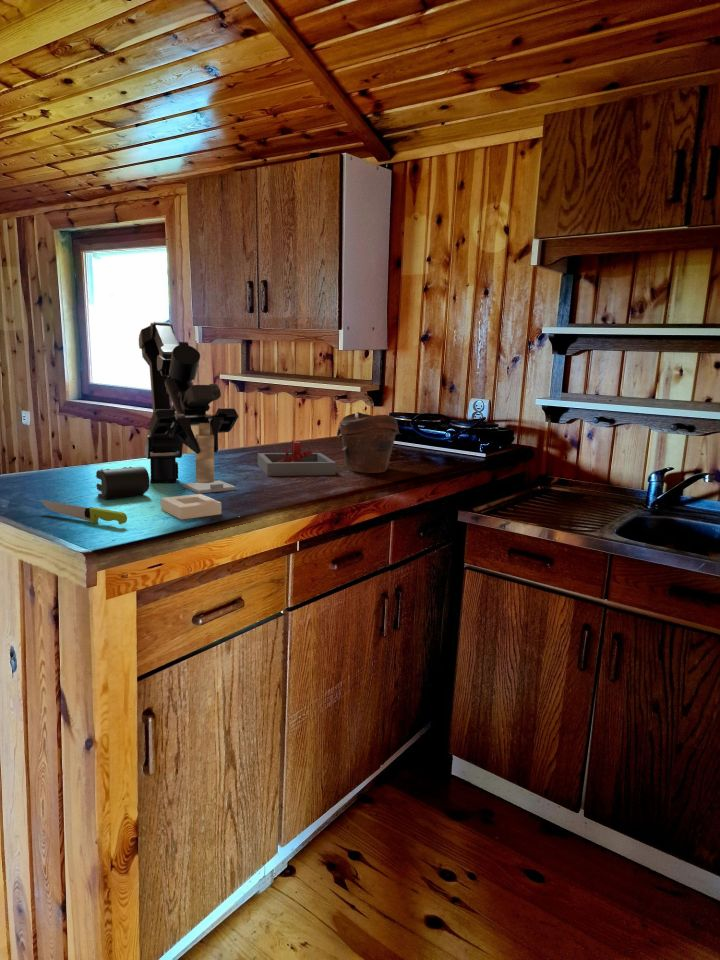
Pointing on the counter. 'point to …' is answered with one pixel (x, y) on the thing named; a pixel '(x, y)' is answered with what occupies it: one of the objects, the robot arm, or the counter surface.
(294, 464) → the gray square tray
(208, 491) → the lid panel
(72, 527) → the counter surface
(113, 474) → the end cap
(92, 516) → the kitchen knife
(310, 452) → the diorama
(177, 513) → the white square socket base
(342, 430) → the brown tapered pot
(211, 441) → the birch pin
